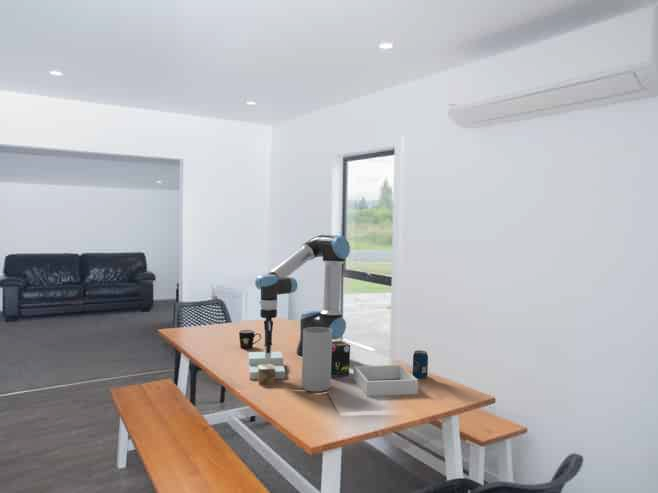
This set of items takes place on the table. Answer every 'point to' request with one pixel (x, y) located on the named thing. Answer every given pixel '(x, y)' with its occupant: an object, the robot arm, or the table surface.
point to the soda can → (420, 364)
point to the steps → (259, 358)
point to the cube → (266, 374)
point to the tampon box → (340, 359)
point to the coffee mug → (247, 338)
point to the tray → (386, 387)
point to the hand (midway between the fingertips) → (267, 359)
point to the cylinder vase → (316, 359)
